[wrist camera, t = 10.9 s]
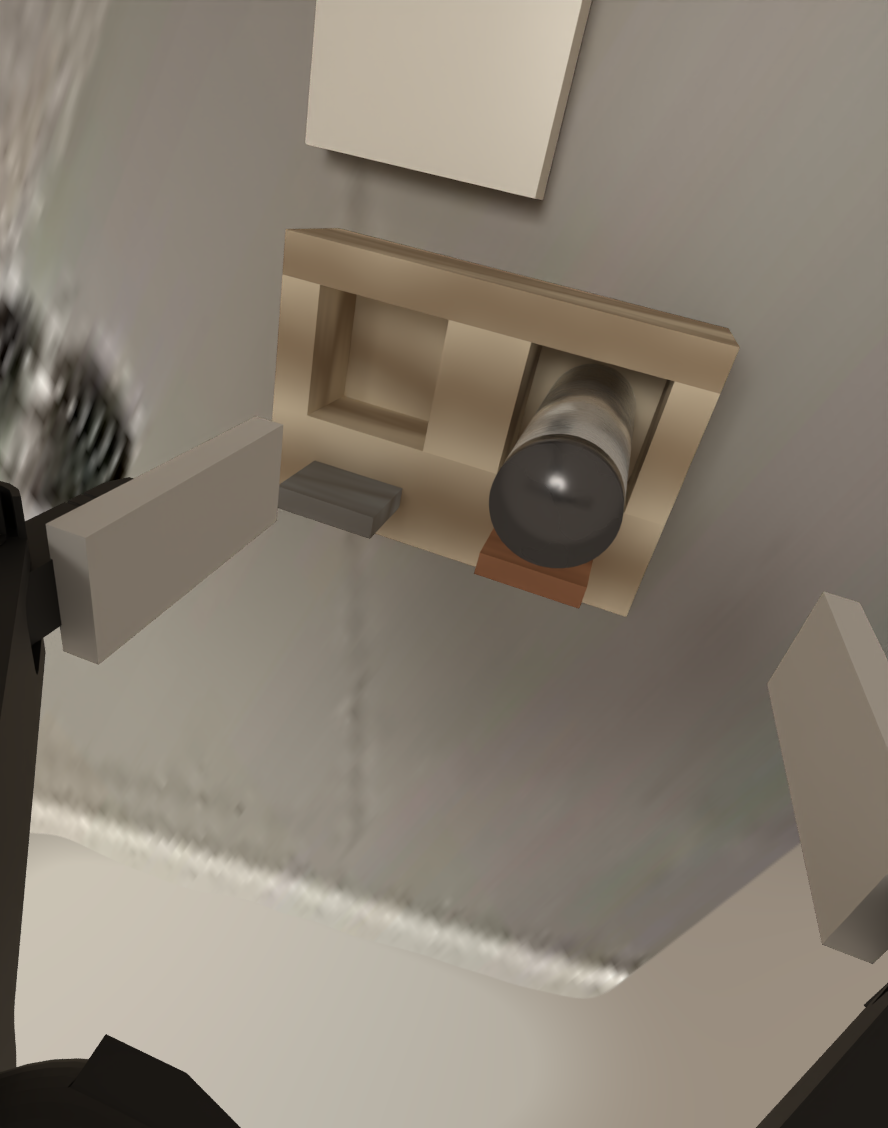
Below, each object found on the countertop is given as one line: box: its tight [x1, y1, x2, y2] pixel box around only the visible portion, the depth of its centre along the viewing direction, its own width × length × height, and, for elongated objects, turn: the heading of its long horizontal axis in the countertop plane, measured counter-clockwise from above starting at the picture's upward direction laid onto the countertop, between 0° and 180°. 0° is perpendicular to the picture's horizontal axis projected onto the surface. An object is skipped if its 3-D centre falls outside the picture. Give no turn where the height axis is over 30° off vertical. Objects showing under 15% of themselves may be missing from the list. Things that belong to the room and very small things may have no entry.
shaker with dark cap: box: [489, 364, 636, 568], centre depth 25 cm, size 4×4×12 cm
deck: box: [305, 0, 592, 200], centre depth 25 cm, size 10×10×2 cm
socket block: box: [272, 228, 740, 617], centre depth 29 cm, size 12×18×8 cm, turn 78°
